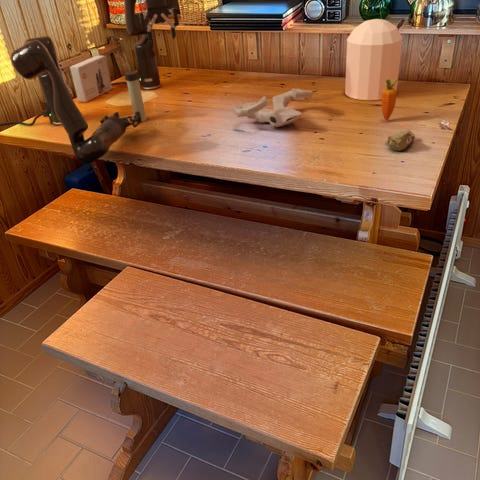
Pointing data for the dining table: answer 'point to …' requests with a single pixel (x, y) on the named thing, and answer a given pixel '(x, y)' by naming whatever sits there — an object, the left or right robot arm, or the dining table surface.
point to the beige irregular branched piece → (280, 112)
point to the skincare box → (91, 78)
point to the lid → (131, 75)
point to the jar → (136, 98)
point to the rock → (400, 140)
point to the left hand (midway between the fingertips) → (128, 114)
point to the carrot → (388, 99)
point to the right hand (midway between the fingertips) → (162, 40)
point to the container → (372, 59)
